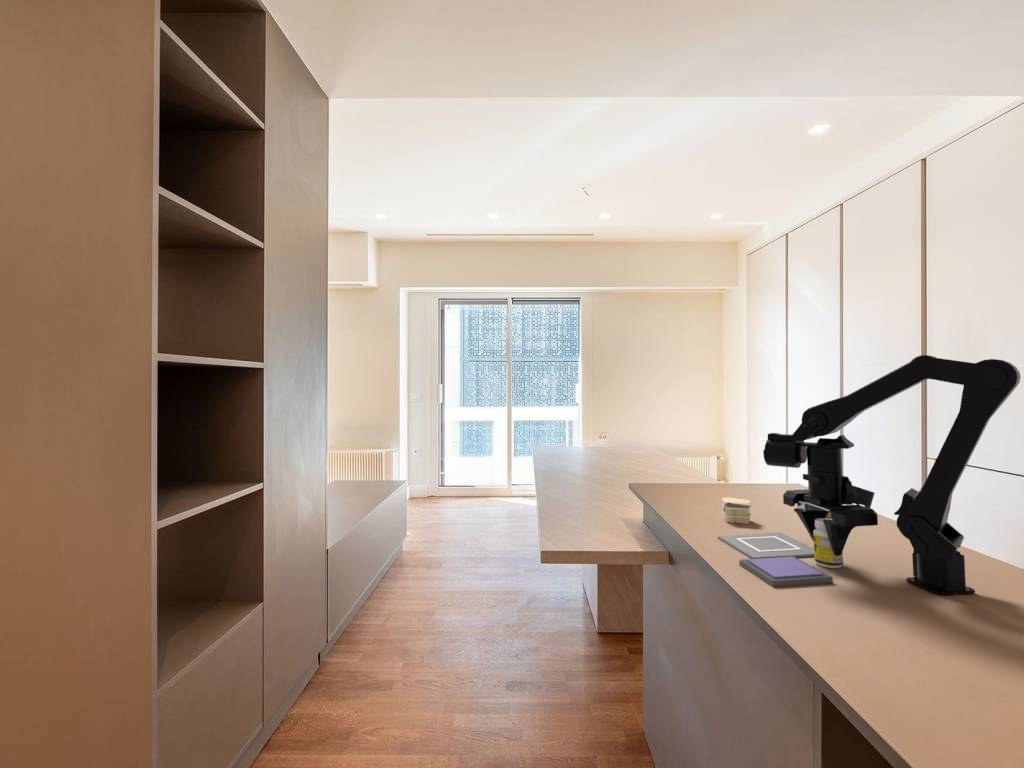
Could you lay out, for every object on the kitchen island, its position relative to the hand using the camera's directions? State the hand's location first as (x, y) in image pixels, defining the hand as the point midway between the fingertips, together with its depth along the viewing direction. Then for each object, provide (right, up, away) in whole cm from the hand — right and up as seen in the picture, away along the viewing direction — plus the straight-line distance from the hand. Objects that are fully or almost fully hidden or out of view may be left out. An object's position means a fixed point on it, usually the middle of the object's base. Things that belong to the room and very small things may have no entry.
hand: (828, 551), depth 96 cm
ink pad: (-11, -3, -4) cm, 12 cm away
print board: (-6, -3, +12) cm, 13 cm away
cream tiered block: (-3, -4, +33) cm, 33 cm away
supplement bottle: (0, -3, 0) cm, 3 cm away
